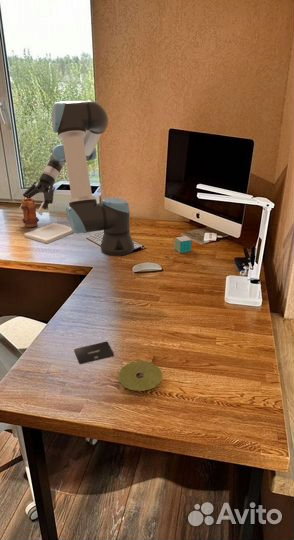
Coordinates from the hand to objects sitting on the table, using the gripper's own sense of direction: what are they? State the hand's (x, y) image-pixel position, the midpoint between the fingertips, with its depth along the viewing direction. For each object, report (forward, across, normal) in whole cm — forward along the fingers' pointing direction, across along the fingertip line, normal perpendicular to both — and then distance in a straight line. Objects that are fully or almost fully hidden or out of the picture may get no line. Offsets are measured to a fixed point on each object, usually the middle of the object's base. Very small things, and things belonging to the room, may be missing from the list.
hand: (30, 211), depth 205 cm
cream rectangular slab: (+7, -16, -5) cm, 18 cm away
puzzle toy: (-7, -80, -19) cm, 83 cm away
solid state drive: (+49, -97, +37) cm, 115 cm away
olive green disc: (+50, -115, +39) cm, 131 cm away
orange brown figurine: (+7, -1, -6) cm, 9 cm away
